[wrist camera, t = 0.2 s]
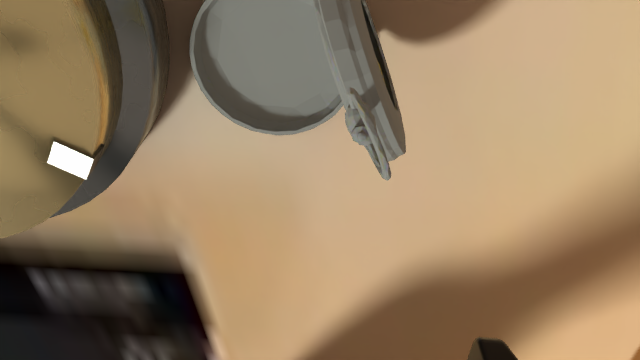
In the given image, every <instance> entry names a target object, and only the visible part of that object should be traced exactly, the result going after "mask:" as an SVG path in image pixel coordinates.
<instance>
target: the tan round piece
mask: <svg viewBox="0 0 640 360" xmlns="http://www.w3.org/2000/svg"><path fill="white" fill-rule="evenodd" d="M122 93H123V74H122V61H121V54H120V49H119V45H118V40H117V35H116V31H115V28H114V25H113V22H112V19H111V16H110V13H109V10H108V7H107V4H106V2H105V0H0V238H6V237H9V236H12V235H15V234H18V233H21V232H24V231H26V230H28V229H30V228H32V227H34V226H36V225H38V224H40V223H42V222H44V221H45V220H47V219H48V218H49V217H51V216H52V215H53V214H55V213H56V212H57V211H59V210H60V209H61V208H62V207H63V205H64V204H65V203H66V202H67V201H68V200H69V199H70V198H71V197H72V196H73V194H74V193H75V192H76V190H77V189H78V188H79V186H80V185H81V184H82V183H83V181H84V180H85V179H87V178H88V177H89V175H90V174H91V173H92V171H93V170H94V169H95V167H96V166H97V164H98V162H99V160H100V158H101V157H102V155H103V154H104V152H105V150H106V149H107V147H108V146H109V144H110V142H111V139H112V137H113V134H114V132H115V130H116V127H117V124H118V119H119V115H120V111H121V106H122Z"/></svg>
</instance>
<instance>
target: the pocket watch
mask: <svg viewBox="0 0 640 360" xmlns="http://www.w3.org/2000/svg"><path fill="white" fill-rule="evenodd" d="M190 59H191V66H192V70H193V73H194V76H195V78H196V81H197V83H198V85H199V87H200V89H201V91H202V92H203V93H204V95H205V96H206V97H207V99H208V100H209V102H210V103H211V104H212V105H213V106H214V107H215V108H216V109H217V110H218V111H219V112H220V113H221V114H222V115H224V116H225V117H227V118H228V119H230V120H231V121H233V122H234V123H236V124H238V125H240V126H242V127H245V128H247V129H249V130H251V131H256V132H261V133H265V134H272V135H291V134H296V133H300V132H304V131H307V130H311V129H313V128H315V127H317V126H318V125H320V124H322V123H324V122H326V121H328V120H329V119H330V118H331V117H333V116H334V115H335V114H336V113H337V112H338V111H339V110H340V108H341V107H342V106H343V105H344V107H345V110H346V113H345V122H346V125H347V128H348V131H349V133H350V134H351V136H352V138H353V141H355V142H357V143H359V145H364V146H365V148H366V149H367V150H368V152H369V154H370V157H371V159H372V160H373V162H374V164H375V166H376V168H377V170H378V171H379V173H380V175H381V176H382V178H383V179H385V180H387V181H388V180H389V179H390V178H391V171H390V167H389V163H388V162H389V161H392V160H395V159H396V158H397V157H399V156H400V155H402V154H405V152H406V145H405V133H404V128H403V123H402V117H401V113H400V109H399V106H398V102H397V98H396V94H395V91H394V87H393V83H392V80H391V76H390V73H389V70H388V67H387V63H386V60H385V57H384V54H383V50H382V47H381V44H380V41H379V38H378V35H377V32H376V29H375V26H374V23H373V20H372V17H371V14H370V11H369V8H368V5H367V3H366V0H205V1H204V3H203V5H202V6H201V8H200V10H199V12H198V14H197V16H196V18H195V20H194V24H193V27H192V31H191V36H190Z"/></svg>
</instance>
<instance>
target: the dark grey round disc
mask: <svg viewBox="0 0 640 360" xmlns="http://www.w3.org/2000/svg"><path fill="white" fill-rule="evenodd" d="M105 2H106V4H107V7H108V10H109V13H110V16H111V19H112V22H113V25H114V28H115V31H116V35H117V40H118V45H119V49H120V54H121V61H122V74H123V93H122V106H121V111H120V115H119V119H118V124H117V127H116V130H115V132H114V134H113V137H112V139H111V142H110V144H109V146H108V147H107V149H106V150H105V152H104V154H103V155H102V157H101V158H100V160H99V162H98V164H97V166H96V167H95V169H94V170H93V171H92V173H91V174H90V175H89V177H88V178H87V179H85V180H84V181H83V183H82V184H81V185H80V186H79V188H78V189H77V190H76V192H75V193H74V194H73V196H72V197H71V198H70V199H69V200H68V201H67V202H66V203H65V204H64V205H63V207H62V208H61V209H60V210H59V211H57V212H56V213H55V214H53V215H52V216H51V217H54V216H57V215H60V214H63V213H66V212H69V211H71V210H73V209H75V208H77V207H79V206H81V205H83V204H85V203H87V202H89V201H91V200H92V199H93V198H95V197H96V196H97V195H99V194H100V193H102V192H103V191H104V190H106V189H107V188H108V187H109V186H110V185H111V184H112V183H113V182H114V181H115V180H116V179H117V178H118V177H119V176H120V174H121V173H122V171H123V170H124V169H125V167H126V166H127V164H128V163H129V161H130V160H131V158H132V157H133V155H134V154H135V152H136V151H137V149H138V148H139V146H140V145H141V143H142V142H143V140H144V139H145V137H146V136H147V134H148V133H149V131H150V130H151V128H152V126H153V124H154V122H155V119H156V117H157V115H158V113H159V111H160V108H161V105H162V101H163V98H164V94H165V91H166V86H167V78H168V70H169V36H168V30H167V23H166V17H165V10H164V6H163V3H162V0H105ZM51 217H49V218H51Z"/></svg>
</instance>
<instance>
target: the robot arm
mask: <svg viewBox="0 0 640 360" xmlns="http://www.w3.org/2000/svg"><path fill="white" fill-rule="evenodd" d="M467 360H518V359H517V358H516V356H515V355H514V354H513V353H512V351H511V350H510V349H509V348H508V346H507V345H506V344H505V343H504V342H503V341H502V340H500V339H497V338H484V337H478V338H476V339H475V340H474V342H473V345H472V347H471V350H470V353H469V356H468V359H467Z"/></svg>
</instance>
